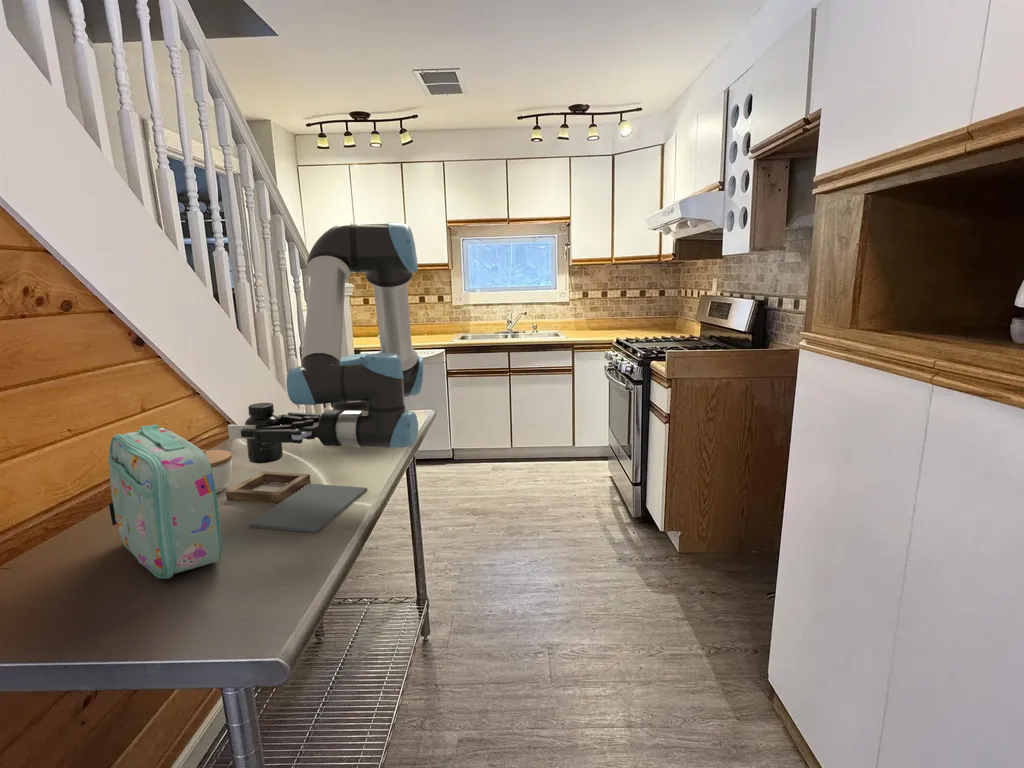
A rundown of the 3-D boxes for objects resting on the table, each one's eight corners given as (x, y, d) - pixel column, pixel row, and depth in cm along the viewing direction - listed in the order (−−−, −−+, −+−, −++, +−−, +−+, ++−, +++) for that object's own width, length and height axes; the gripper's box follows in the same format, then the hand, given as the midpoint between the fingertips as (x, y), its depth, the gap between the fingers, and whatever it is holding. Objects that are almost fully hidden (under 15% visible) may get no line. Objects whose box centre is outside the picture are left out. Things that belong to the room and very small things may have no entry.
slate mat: (309, 486, 119) (309, 483, 119) (367, 490, 116) (367, 487, 116) (248, 526, 100) (248, 523, 100) (316, 533, 97) (315, 529, 97)
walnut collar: (264, 479, 124) (263, 471, 123) (310, 482, 121) (309, 474, 121) (226, 500, 112) (225, 491, 112) (277, 504, 110) (276, 495, 109)
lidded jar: (173, 491, 117) (167, 451, 116) (225, 478, 125) (220, 439, 123) (189, 505, 110) (183, 462, 108) (243, 489, 118) (238, 449, 116)
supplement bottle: (270, 465, 111) (264, 409, 109) (241, 463, 113) (234, 408, 110) (290, 454, 118) (284, 401, 115) (262, 452, 119) (256, 400, 117)
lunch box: (110, 541, 95) (89, 426, 91) (174, 520, 103) (157, 413, 99) (162, 596, 79) (139, 457, 74) (234, 566, 86) (217, 439, 82)
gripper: (322, 461, 103) (212, 458, 105) (362, 431, 122) (268, 429, 125) (319, 424, 101) (207, 422, 104) (360, 399, 120) (264, 398, 123)
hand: (240, 426), depth 114 cm, fingers closed on supplement bottle, 7 cm apart
